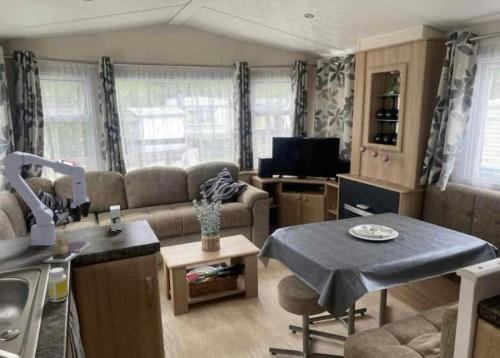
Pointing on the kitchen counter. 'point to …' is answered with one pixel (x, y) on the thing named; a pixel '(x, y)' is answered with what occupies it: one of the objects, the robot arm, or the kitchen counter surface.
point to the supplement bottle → (57, 285)
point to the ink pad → (77, 246)
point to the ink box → (115, 218)
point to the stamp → (61, 248)
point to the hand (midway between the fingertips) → (81, 219)
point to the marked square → (62, 259)
